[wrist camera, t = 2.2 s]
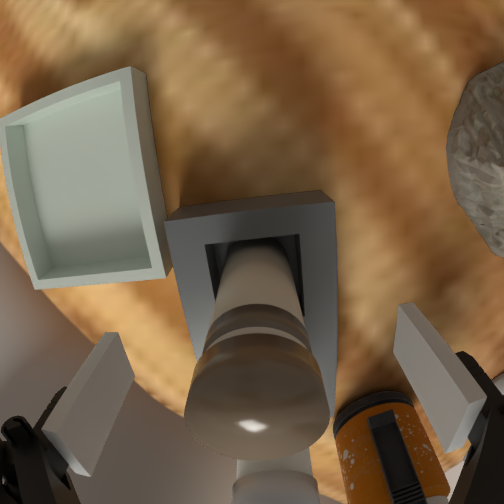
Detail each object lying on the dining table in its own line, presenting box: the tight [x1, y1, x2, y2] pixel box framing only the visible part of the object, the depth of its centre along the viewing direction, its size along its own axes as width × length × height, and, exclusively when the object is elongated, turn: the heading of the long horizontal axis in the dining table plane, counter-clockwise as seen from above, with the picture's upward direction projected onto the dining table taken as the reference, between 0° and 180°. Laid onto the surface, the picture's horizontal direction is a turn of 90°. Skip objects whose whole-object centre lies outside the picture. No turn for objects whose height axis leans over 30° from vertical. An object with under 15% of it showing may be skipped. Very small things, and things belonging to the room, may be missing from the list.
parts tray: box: [0, 66, 173, 290], centre depth 20 cm, size 14×12×3 cm
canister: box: [333, 391, 450, 504], centre depth 20 cm, size 9×11×20 cm
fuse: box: [231, 447, 320, 504], centre depth 19 cm, size 5×5×14 cm
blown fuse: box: [184, 237, 330, 461], centre depth 16 cm, size 5×5×14 cm
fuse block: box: [164, 190, 338, 417], centre depth 23 cm, size 18×10×4 cm, turn 7°
